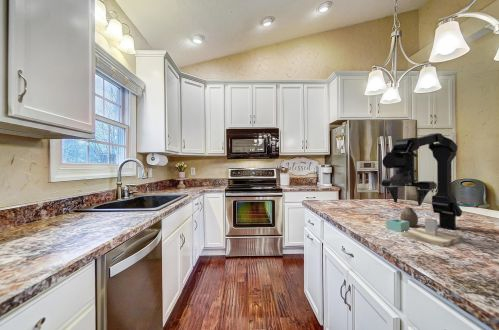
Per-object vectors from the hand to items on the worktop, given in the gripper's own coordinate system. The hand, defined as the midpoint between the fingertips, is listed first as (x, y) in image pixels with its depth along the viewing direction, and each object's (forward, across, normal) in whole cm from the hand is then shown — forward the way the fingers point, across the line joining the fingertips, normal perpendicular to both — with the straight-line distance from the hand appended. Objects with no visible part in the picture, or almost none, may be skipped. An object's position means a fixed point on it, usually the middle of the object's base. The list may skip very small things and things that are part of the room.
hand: (407, 204), depth 93 cm
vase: (+13, -7, +14) cm, 21 cm away
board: (+13, +7, +3) cm, 15 cm away
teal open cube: (+13, -6, +3) cm, 14 cm away
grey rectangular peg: (+11, +7, +3) cm, 14 cm away
